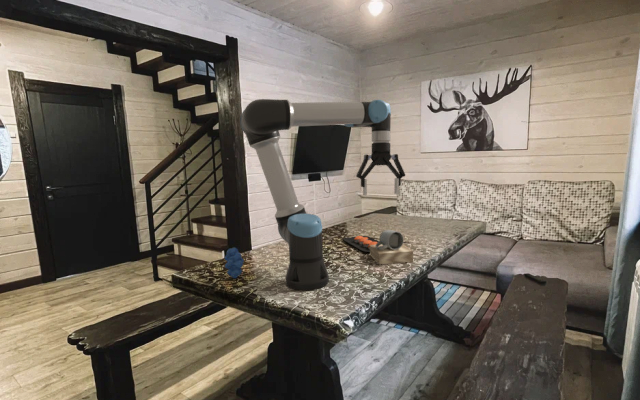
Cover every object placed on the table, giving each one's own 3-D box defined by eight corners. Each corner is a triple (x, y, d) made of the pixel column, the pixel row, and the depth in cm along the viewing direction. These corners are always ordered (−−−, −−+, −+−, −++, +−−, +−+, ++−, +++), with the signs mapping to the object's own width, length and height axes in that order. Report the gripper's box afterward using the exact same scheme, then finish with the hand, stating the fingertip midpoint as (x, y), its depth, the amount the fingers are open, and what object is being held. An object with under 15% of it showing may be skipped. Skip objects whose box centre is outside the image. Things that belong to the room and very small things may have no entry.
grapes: (253, 279, 122) (250, 247, 120) (236, 284, 117) (233, 251, 116) (238, 271, 130) (235, 242, 129) (221, 276, 126) (219, 245, 125)
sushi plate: (341, 241, 174) (341, 234, 174) (391, 235, 183) (391, 228, 182) (365, 256, 146) (365, 247, 146) (423, 248, 155) (423, 240, 155)
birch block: (379, 265, 132) (379, 253, 132) (370, 256, 146) (369, 245, 146) (413, 263, 134) (413, 251, 133) (400, 253, 148) (400, 242, 147)
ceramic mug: (392, 244, 145) (392, 227, 144) (404, 248, 137) (403, 230, 136) (371, 248, 141) (370, 230, 140) (382, 252, 133) (381, 234, 132)
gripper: (406, 142, 140) (405, 192, 142) (348, 143, 136) (349, 194, 138) (414, 141, 133) (413, 194, 135) (353, 142, 129) (353, 196, 131)
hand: (380, 194), depth 137 cm, fingers open, 13 cm apart
